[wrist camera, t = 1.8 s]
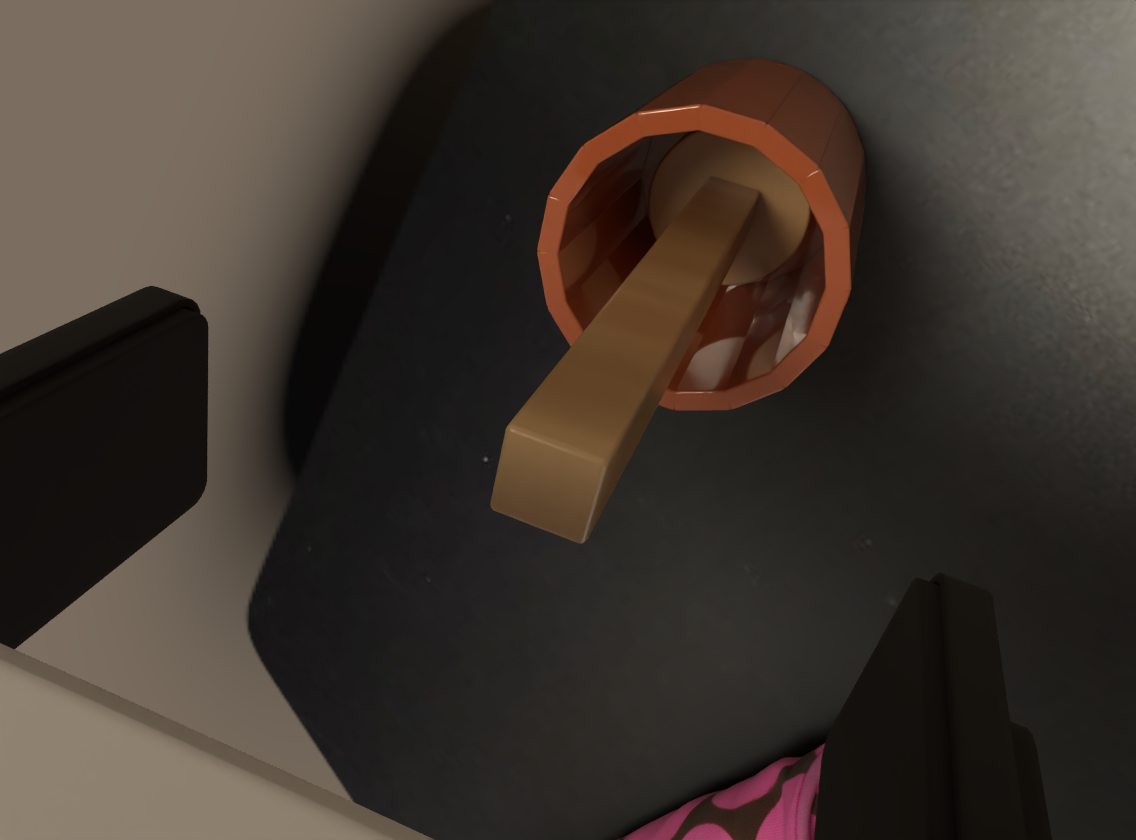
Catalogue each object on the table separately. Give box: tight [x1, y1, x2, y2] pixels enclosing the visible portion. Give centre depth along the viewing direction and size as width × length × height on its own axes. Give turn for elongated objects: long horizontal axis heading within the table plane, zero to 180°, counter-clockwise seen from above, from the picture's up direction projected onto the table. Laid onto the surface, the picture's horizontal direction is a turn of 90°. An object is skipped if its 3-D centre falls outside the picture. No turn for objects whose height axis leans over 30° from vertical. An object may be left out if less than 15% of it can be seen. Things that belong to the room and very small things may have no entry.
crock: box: [537, 58, 866, 410], centre depth 22 cm, size 7×7×8 cm
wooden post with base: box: [491, 130, 813, 543], centre depth 19 cm, size 4×4×16 cm
